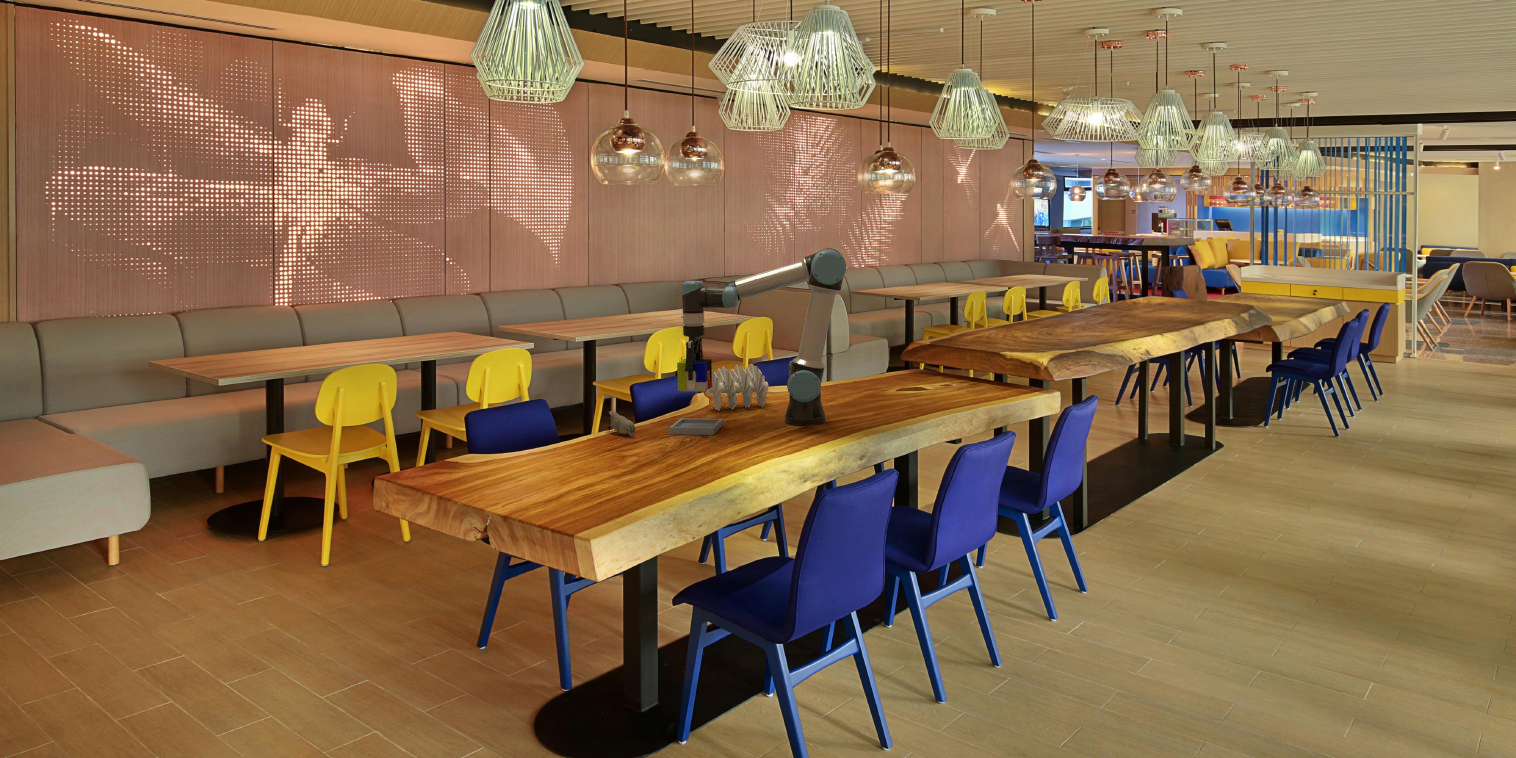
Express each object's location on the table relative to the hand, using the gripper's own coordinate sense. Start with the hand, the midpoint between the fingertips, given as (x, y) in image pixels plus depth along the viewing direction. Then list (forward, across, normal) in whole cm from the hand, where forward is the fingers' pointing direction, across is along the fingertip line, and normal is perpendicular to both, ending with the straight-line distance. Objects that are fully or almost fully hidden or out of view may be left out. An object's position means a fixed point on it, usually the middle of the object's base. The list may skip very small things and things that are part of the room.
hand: (695, 386), depth 368 cm
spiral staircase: (+16, -40, +7) cm, 44 cm away
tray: (+16, 0, 0) cm, 16 cm away
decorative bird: (+16, +10, -25) cm, 31 cm away
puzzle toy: (+1, 0, 0) cm, 1 cm away
